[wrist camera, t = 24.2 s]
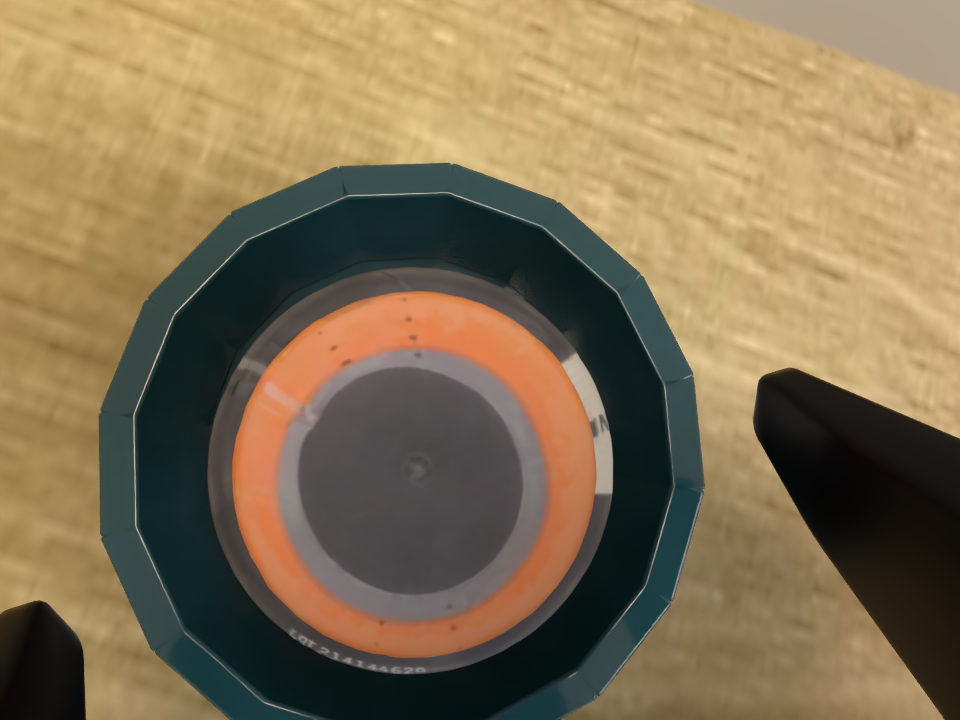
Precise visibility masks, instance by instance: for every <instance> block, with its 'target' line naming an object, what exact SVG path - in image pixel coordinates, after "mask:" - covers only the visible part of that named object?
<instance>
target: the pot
mask: <svg viewBox="0 0 960 720" xmlns="http://www.w3.org/2000/svg"><path fill="white" fill-rule="evenodd" d="M403 267H419V268H437V269H443V270H449V271H455V272H459V273H462V274H466V275H469V276H473V277H476V278H480V279H483V280H485V281H488V282H490V283H492V284H495V285H497V286H499V287H501V288H503V289H505V290H507V291H509V292H511V293H512V294H514V295H516V296H517V297H519V298H521V299H522V300H524V301H525V302H527V303H529V304H530V305H531V306H532V307H534V308H535V309H536V310H537V311H539V312H540V313H541V314H542V315H544V316H545V317H546V318H547V319H548V320H549V321H550V322H551V323H552V324H553V325H554V326H555V327H556V328H557V329H558V330H559V331H560V332H561V333H562V334H563V335H564V336H565V337H566V338H567V339H568V341H569V342H570V343H571V345H572V346H573V347H574V349H575V350H576V352H577V354H578V356H579V358H580V359H581V361H582V362H583V364H584V365H585V367H586V369H587V370H588V372H589V373H590V375H591V377H592V379H593V381H594V383H595V385H596V388H597V391H598V393H599V396H600V399H601V401H602V404H603V407H604V410H605V414H606V418H607V422H608V426H609V432H610V437H611V442H612V454H613V491H612V499H611V505H610V511H609V515H608V518H607V522H606V526H605V529H604V532H603V535H602V538H601V541H600V543H599V546H598V548H597V550H596V553H595V555H594V557H593V559H592V561H591V563H590V565H589V567H588V569H587V570H586V572H585V573H584V575H583V576H582V578H581V579H580V581H579V582H578V584H577V585H576V587H575V589H574V590H573V592H572V593H571V594H570V596H569V597H568V598H567V599H566V600H565V602H564V603H563V604H562V605H561V606H560V607H559V608H558V610H557V611H556V612H555V613H554V614H553V615H552V616H551V617H549V618H548V619H547V620H546V621H545V622H544V623H543V624H542V625H541V626H539V627H538V628H537V629H536V630H535V631H533V632H532V633H531V634H529V635H528V636H526V637H525V638H524V639H522V640H520V641H519V642H517V643H515V644H513V645H512V646H510V647H509V648H507V649H505V650H504V651H502V652H500V653H497V654H495V655H493V656H491V657H489V658H486V659H484V660H481V661H479V662H476V663H473V664H471V665H468V666H464V667H460V668H457V669H453V670H448V671H441V672H435V673H424V674H392V673H383V672H376V671H371V670H367V669H363V668H358V667H354V666H351V665H348V664H345V663H342V662H339V661H336V660H333V659H331V658H329V657H326V656H324V655H322V654H320V653H318V652H316V651H315V650H313V649H311V648H308V647H306V646H305V645H303V644H302V643H300V642H299V641H297V640H296V639H294V638H293V637H291V636H290V635H289V634H288V633H287V632H285V631H284V630H283V629H282V628H280V627H279V626H278V625H276V624H275V623H274V622H273V621H272V620H271V619H270V618H268V617H267V615H266V614H265V613H264V612H263V611H262V610H261V609H260V608H259V607H258V606H257V604H256V603H255V602H254V601H253V600H252V599H251V597H250V596H249V595H248V593H247V592H246V590H245V589H244V588H243V586H242V585H241V583H240V582H239V580H238V579H237V577H236V576H235V574H234V572H233V570H232V568H231V566H230V564H229V562H228V560H227V558H226V556H225V554H224V551H223V549H222V547H221V544H220V542H219V539H218V537H217V533H216V529H215V525H214V521H213V517H212V513H211V507H210V500H209V494H208V479H207V470H208V455H209V445H210V438H211V434H212V429H213V424H214V418H215V415H216V412H217V409H218V406H219V403H220V401H221V399H222V396H223V394H224V392H225V390H226V388H227V385H228V383H229V381H230V378H231V376H232V374H233V372H234V371H235V369H236V368H237V366H238V365H239V363H240V362H241V360H242V358H243V356H244V355H245V354H246V352H247V351H248V349H249V348H250V347H251V345H252V344H253V343H254V341H255V340H256V339H257V338H258V337H259V336H260V335H261V334H262V333H263V332H264V331H265V330H266V329H267V328H268V327H269V326H270V325H271V324H272V323H273V322H274V321H275V320H276V319H277V318H278V317H279V316H280V315H282V314H283V313H284V312H285V311H287V310H288V309H289V308H290V307H292V306H293V305H295V304H296V303H298V302H299V301H301V300H302V299H304V298H306V297H307V296H309V295H311V294H313V293H315V292H317V291H319V290H321V289H323V288H325V287H327V286H328V285H331V284H333V283H335V282H337V281H340V280H343V279H345V278H348V277H351V276H355V275H358V274H362V273H367V272H371V271H376V270H382V269H389V268H403ZM692 376H693V372H692V370H691V368H690V366H689V364H688V363H687V361H686V359H685V357H684V355H683V353H682V351H681V349H680V347H679V345H678V343H677V341H676V339H675V337H674V335H673V333H672V331H671V329H670V327H669V326H668V324H667V322H666V320H665V318H664V316H663V314H662V312H661V310H660V308H659V306H658V304H657V302H656V300H655V298H654V296H653V294H652V292H651V290H650V288H649V287H648V285H647V283H646V281H645V279H644V277H643V276H641V274H640V273H639V272H638V271H637V270H636V269H635V268H634V267H633V266H631V265H630V264H629V263H628V262H627V261H626V260H625V259H623V258H622V257H621V256H620V255H619V254H618V253H617V252H616V251H614V250H613V249H612V248H611V247H610V246H609V245H608V244H606V243H605V242H604V241H603V240H602V239H601V238H600V237H598V236H597V235H596V234H595V233H594V232H593V231H592V230H591V229H589V228H588V227H587V226H586V225H585V224H584V223H583V222H581V221H580V220H579V219H578V218H577V217H576V216H575V215H574V214H572V213H571V212H570V211H569V210H568V209H567V208H566V207H564V206H563V205H562V204H561V203H559V202H558V203H557V201H555V200H554V199H551V198H548V197H545V196H542V195H540V194H537V193H534V192H531V191H529V190H526V189H523V188H520V187H518V186H515V185H512V184H509V183H507V182H504V181H501V180H498V179H495V178H493V177H490V176H487V175H484V174H482V173H479V172H476V171H473V170H471V169H468V168H465V167H462V166H460V165H457V164H453V165H451V164H450V163H430V164H396V165H361V166H340V167H339V168H338V167H334V168H331V169H329V170H327V171H324V172H322V173H320V174H318V175H315V176H313V177H311V178H308V179H306V180H304V181H301V182H299V183H297V184H294V185H292V186H290V187H287V188H285V189H283V190H280V191H278V192H276V193H274V194H271V195H269V196H267V197H264V198H262V199H260V200H257V201H255V202H253V203H250V204H248V205H246V206H243V207H241V208H239V209H236V210H234V211H232V212H231V215H228V216H227V217H226V218H225V219H224V220H223V221H222V222H221V223H220V224H219V225H218V226H217V227H216V228H215V229H214V230H213V231H212V232H211V233H210V234H209V235H208V236H207V237H206V238H205V239H204V240H203V241H202V242H201V243H200V244H199V245H198V246H197V247H196V248H195V249H194V250H193V251H192V252H191V253H190V254H189V255H188V256H187V257H186V258H185V259H184V260H183V261H182V262H181V263H180V264H179V265H178V266H177V267H176V268H175V269H174V270H173V271H172V272H171V273H170V274H169V275H168V276H167V277H166V278H165V279H164V280H163V281H162V282H161V283H160V284H159V285H158V286H157V287H156V288H155V289H154V290H153V291H152V292H151V293H150V294H149V296H148V300H145V302H144V303H143V306H142V308H141V311H140V313H139V316H138V318H137V321H136V323H135V325H134V328H133V330H132V333H131V335H130V338H129V340H128V343H127V345H126V347H125V350H124V352H123V355H122V357H121V360H120V362H119V364H118V367H117V369H116V372H115V374H114V377H113V379H112V382H111V384H110V386H109V389H108V391H107V394H106V396H105V399H104V401H103V404H102V406H101V413H99V470H100V534H101V536H103V537H102V538H101V539H102V542H103V544H104V547H105V549H106V551H107V553H108V555H109V558H110V560H111V562H112V564H113V566H114V569H115V571H116V573H117V575H118V577H119V580H120V582H121V584H122V586H123V588H124V591H125V593H126V595H127V597H128V599H129V602H130V604H131V606H132V608H133V610H134V613H135V615H136V617H137V619H138V621H139V624H140V626H141V628H142V630H143V632H144V635H145V637H146V639H147V641H148V643H149V646H150V648H151V650H152V651H155V653H156V655H157V656H158V657H160V658H161V659H162V660H163V661H164V662H165V663H166V664H167V665H169V666H170V667H171V668H172V669H173V670H174V671H175V672H177V673H178V674H179V675H180V676H181V677H182V678H183V679H184V680H186V681H187V682H188V683H189V684H190V685H191V686H192V687H194V688H195V689H196V690H197V691H198V692H199V693H200V694H201V695H203V696H204V697H205V698H206V699H207V700H208V701H209V702H211V703H212V704H213V705H214V706H215V707H216V708H217V709H218V710H220V711H221V712H222V713H223V714H224V715H225V716H226V717H228V718H229V719H230V720H560V719H562V718H564V717H566V716H567V715H569V714H571V713H573V712H574V711H576V710H578V709H580V708H581V707H583V706H585V705H587V704H588V703H590V702H592V701H594V700H595V699H596V698H597V696H600V695H601V694H602V693H603V692H604V690H605V689H606V688H607V687H608V685H609V684H610V683H611V681H612V680H613V679H614V678H615V676H616V675H617V674H618V672H619V671H620V670H621V669H622V667H623V666H624V665H625V663H626V662H627V661H628V660H629V658H630V657H631V656H632V654H633V653H634V652H635V651H636V649H637V648H638V647H639V645H640V644H641V643H642V642H643V640H644V639H645V638H646V636H647V635H648V634H649V633H650V631H651V630H652V629H653V627H654V626H655V625H656V624H657V622H658V621H659V620H660V618H661V617H662V616H663V615H664V613H665V612H666V611H667V609H668V608H669V607H670V605H671V602H670V601H672V600H673V599H674V596H675V592H676V589H677V585H678V582H679V578H680V575H681V571H682V568H683V564H684V561H685V557H686V554H687V550H688V547H689V543H690V540H691V536H692V533H693V529H694V526H695V522H696V519H697V515H698V512H699V508H700V505H701V501H702V498H703V494H704V491H703V489H704V487H705V484H704V474H703V464H702V454H701V444H700V434H699V424H698V413H697V403H696V393H695V383H694V378H693V377H692Z"/></svg>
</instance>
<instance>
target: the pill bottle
mask: <svg viewBox="0 0 960 720" xmlns="http://www.w3.org/2000/svg"><path fill="white" fill-rule="evenodd" d="M207 479H208V494H209V500H210V507H211V513H212V517H213V521H214V525H215V529H216V533H217V537H218V539H219V542H220V544H221V547H222V549H223V551H224V554H225V556H226V558H227V560H228V562H229V564H230V566H231V568H232V570H233V572H234V574H235V576H236V577H237V579H238V580H239V582H240V583H241V585H242V586H243V588H244V589H245V590H246V592H247V593H248V595H249V596H250V597H251V599H252V600H253V601H254V602H255V603H256V604H257V606H258V607H259V608H260V609H261V610H262V611H263V612H264V613H265V614H266V615H267V617H268V618H270V619H271V620H272V621H273V622H274V623H275V624H276V625H278V626H279V627H280V628H282V629H283V630H284V631H285V632H287V633H288V634H289V635H290V636H291V637H293V638H294V639H296V640H297V641H299V642H300V643H302V644H303V645H305V646H306V647H308V648H311V649H313V650H315V651H316V652H318V653H320V654H322V655H324V656H326V657H329V658H331V659H333V660H336V661H339V662H342V663H345V664H348V665H351V666H354V667H358V668H363V669H367V670H371V671H376V672H383V673H392V674H424V673H435V672H441V671H448V670H453V669H457V668H460V667H464V666H468V665H471V664H473V663H476V662H479V661H481V660H484V659H486V658H489V657H491V656H493V655H495V654H497V653H500V652H502V651H504V650H505V649H507V648H509V647H510V646H512V645H513V644H515V643H517V642H519V641H520V640H522V639H524V638H525V637H526V636H528V635H529V634H531V633H532V632H533V631H535V630H536V629H537V628H538V627H539V626H541V625H542V624H543V623H544V622H545V621H546V620H547V619H548V618H549V617H551V616H552V615H553V614H554V613H555V612H556V611H557V610H558V608H559V607H560V606H561V605H562V604H563V603H564V602H565V600H566V599H567V598H568V597H569V596H570V594H571V593H572V592H573V590H574V589H575V587H576V585H577V584H578V582H579V581H580V579H581V578H582V576H583V575H584V573H585V572H586V570H587V569H588V567H589V565H590V563H591V561H592V559H593V557H594V555H595V553H596V550H597V548H598V546H599V543H600V541H601V538H602V535H603V532H604V529H605V526H606V522H607V518H608V515H609V511H610V505H611V499H612V491H613V454H612V442H611V437H610V432H609V426H608V422H607V418H606V414H605V410H604V407H603V404H602V401H601V399H600V396H599V393H598V391H597V388H596V385H595V383H594V381H593V379H592V377H591V375H590V373H589V372H588V370H587V369H586V367H585V365H584V364H583V362H582V361H581V359H580V358H579V356H578V354H577V352H576V350H575V349H574V347H573V346H572V345H571V343H570V342H569V341H568V339H567V338H566V337H565V336H564V335H563V334H562V333H561V332H560V331H559V330H558V329H557V328H556V327H555V326H554V325H553V324H552V323H551V322H550V321H549V320H548V319H547V318H546V317H545V316H544V315H542V314H541V313H540V312H539V311H537V310H536V309H535V308H534V307H532V306H531V305H530V304H529V303H527V302H525V301H524V300H522V299H521V298H519V297H517V296H516V295H514V294H512V293H511V292H509V291H507V290H505V289H503V288H501V287H499V286H497V285H495V284H492V283H490V282H488V281H485V280H483V279H480V278H476V277H473V276H469V275H466V274H462V273H459V272H455V271H449V270H443V269H437V268H419V267H403V268H389V269H382V270H376V271H371V272H367V273H362V274H358V275H355V276H351V277H348V278H345V279H343V280H340V281H337V282H335V283H333V284H331V285H328V286H327V287H325V288H323V289H321V290H319V291H317V292H315V293H313V294H311V295H309V296H307V297H306V298H304V299H302V300H301V301H299V302H298V303H296V304H295V305H293V306H292V307H290V308H289V309H288V310H287V311H285V312H284V313H283V314H282V315H280V316H279V317H278V318H277V319H276V320H275V321H274V322H273V323H272V324H271V325H270V326H269V327H268V328H267V329H266V330H265V331H264V332H263V333H262V334H261V335H260V336H259V337H258V338H257V339H256V340H255V341H254V343H253V344H252V345H251V347H250V348H249V349H248V351H247V352H246V354H245V355H244V356H243V358H242V360H241V362H240V363H239V365H238V366H237V368H236V369H235V371H234V372H233V374H232V376H231V378H230V381H229V383H228V385H227V388H226V390H225V392H224V394H223V396H222V399H221V401H220V403H219V406H218V409H217V412H216V415H215V418H214V424H213V429H212V434H211V438H210V445H209V455H208V470H207Z"/></svg>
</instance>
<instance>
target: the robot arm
mask: <svg viewBox="0 0 960 720" xmlns="http://www.w3.org/2000/svg"><path fill="white" fill-rule="evenodd" d="M753 425H754V430H755V433H756V436H757V438H758V440H759V441H760V443H761V445H762V447H763V449H764V450H765V452H766V454H767V456H768V457H769V459H770V461H771V463H772V465H773V466H774V468H775V470H776V472H777V473H778V475H779V477H780V479H781V481H782V482H783V484H784V486H785V488H786V489H787V491H788V493H789V495H790V497H791V498H792V500H793V502H794V504H795V505H796V507H797V509H798V511H799V512H800V514H801V516H802V518H803V520H804V521H805V523H806V524H807V526H808V528H809V529H810V531H811V533H812V534H813V536H814V537H815V539H816V540H817V542H818V543H819V545H820V546H821V548H822V549H823V551H824V552H825V553H826V555H827V556H828V558H829V559H830V560H831V562H832V563H833V564H834V566H835V567H836V569H837V570H838V571H839V573H840V574H841V576H842V577H843V578H844V580H845V581H846V583H847V584H848V585H849V587H850V588H851V590H852V591H853V592H854V594H855V595H856V597H857V598H858V599H859V601H860V602H861V604H862V605H863V606H864V608H865V609H866V610H867V612H868V613H869V615H870V616H871V617H872V619H873V620H874V622H875V623H876V624H877V626H878V627H879V629H880V630H881V631H882V633H883V634H884V636H885V637H886V638H887V640H888V641H889V643H890V644H891V645H892V647H893V648H894V650H895V651H896V652H897V654H898V655H899V656H900V658H901V659H902V661H903V662H904V663H905V665H906V666H907V668H908V669H909V670H910V672H911V673H912V675H913V676H914V677H915V679H916V680H917V682H918V683H919V684H920V686H921V687H922V689H923V690H924V691H925V693H926V694H927V696H928V697H929V698H930V700H931V701H932V702H933V704H934V705H935V707H936V708H937V709H938V711H939V712H940V714H941V715H942V716H943V718H944V719H945V720H960V439H959V438H957V437H955V436H952V435H950V434H948V433H945V432H943V431H941V430H938V429H936V428H934V427H931V426H929V425H927V424H924V423H922V422H920V421H917V420H915V419H913V418H910V417H908V416H906V415H903V414H901V413H899V412H896V411H894V410H891V409H889V408H887V407H884V406H882V405H880V404H877V403H875V402H873V401H870V400H868V399H866V398H863V397H861V396H859V395H856V394H854V393H852V392H849V391H847V390H845V389H842V388H840V387H838V386H835V385H833V384H831V383H828V382H826V381H824V380H821V379H819V378H817V377H814V376H812V375H810V374H807V373H805V372H803V371H800V370H798V369H794V368H785V369H782V370H778V371H775V372H772V373H769V374H766V375H764V376H762V377H761V379H760V380H759V382H758V388H757V395H756V402H755V409H754V416H753ZM0 720H86V709H85V683H84V657H83V649H82V645H81V642H80V640H79V638H78V636H77V635H76V633H75V632H74V631H73V630H72V629H71V628H70V627H69V626H68V625H67V624H66V623H65V622H64V620H63V619H62V618H61V617H60V616H59V615H58V614H57V613H56V612H55V611H54V610H53V609H52V608H51V606H50V605H48V604H47V603H46V602H43V601H40V600H39V601H33V602H30V603H27V604H23V605H20V606H17V607H14V608H11V609H8V610H6V611H4V612H2V613H1V614H0Z"/></svg>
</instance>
